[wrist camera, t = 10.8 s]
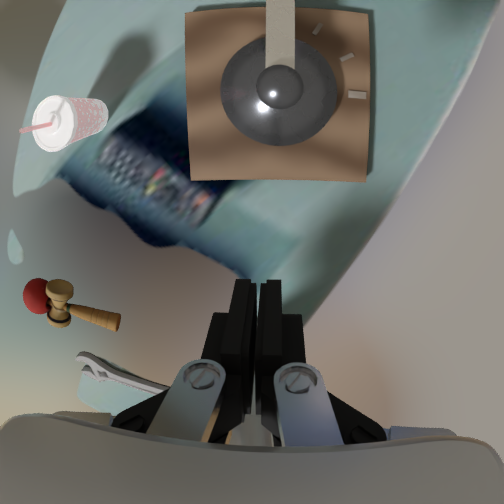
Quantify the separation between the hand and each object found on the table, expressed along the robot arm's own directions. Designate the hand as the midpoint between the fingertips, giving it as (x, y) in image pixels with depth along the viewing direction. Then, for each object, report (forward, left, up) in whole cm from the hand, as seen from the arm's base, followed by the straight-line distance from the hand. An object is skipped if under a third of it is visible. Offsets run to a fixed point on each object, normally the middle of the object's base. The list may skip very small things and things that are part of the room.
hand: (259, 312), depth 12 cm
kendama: (-20, +32, -28) cm, 47 cm away
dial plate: (+9, -1, -27) cm, 29 cm away
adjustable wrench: (-39, +25, -28) cm, 54 cm away
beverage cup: (+8, +22, -27) cm, 36 cm away
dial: (+11, -1, -25) cm, 28 cm away
